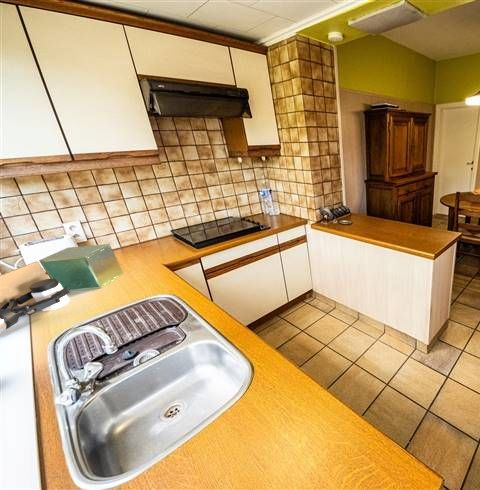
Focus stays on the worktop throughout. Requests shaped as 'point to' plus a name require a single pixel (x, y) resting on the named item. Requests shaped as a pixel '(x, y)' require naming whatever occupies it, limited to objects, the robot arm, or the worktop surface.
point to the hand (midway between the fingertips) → (50, 291)
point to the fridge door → (20, 282)
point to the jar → (48, 292)
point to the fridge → (83, 267)
